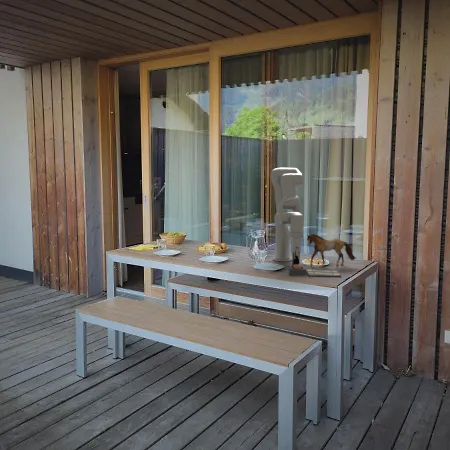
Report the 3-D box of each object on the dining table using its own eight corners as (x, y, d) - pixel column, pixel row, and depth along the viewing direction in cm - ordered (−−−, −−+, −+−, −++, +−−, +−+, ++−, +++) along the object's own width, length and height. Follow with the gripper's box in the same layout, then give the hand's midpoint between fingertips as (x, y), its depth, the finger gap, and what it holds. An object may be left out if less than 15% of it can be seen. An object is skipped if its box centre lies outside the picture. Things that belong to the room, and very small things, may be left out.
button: (292, 268, 271) (293, 264, 271) (301, 268, 271) (301, 264, 270) (293, 270, 266) (293, 265, 266) (302, 270, 266) (302, 266, 265)
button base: (289, 271, 273) (289, 265, 273) (304, 271, 273) (304, 266, 272) (290, 275, 264) (290, 269, 264) (306, 275, 264) (306, 269, 263)
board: (305, 270, 276) (305, 268, 276) (336, 270, 275) (336, 269, 275) (308, 276, 261) (308, 275, 261) (341, 277, 260) (341, 275, 260)
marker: (291, 268, 282) (291, 248, 280) (299, 268, 282) (299, 248, 280) (292, 270, 277) (292, 250, 276) (300, 270, 277) (300, 250, 276)
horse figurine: (306, 268, 282) (307, 234, 279) (303, 265, 289) (303, 232, 287) (356, 267, 285) (357, 234, 282) (351, 264, 292) (352, 232, 290)
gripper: (288, 232, 285) (288, 261, 288) (291, 236, 269) (290, 268, 271) (301, 232, 285) (300, 262, 287) (304, 237, 268) (303, 268, 271)
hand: (295, 264), depth 279 cm, fingers closed on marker, 4 cm apart
